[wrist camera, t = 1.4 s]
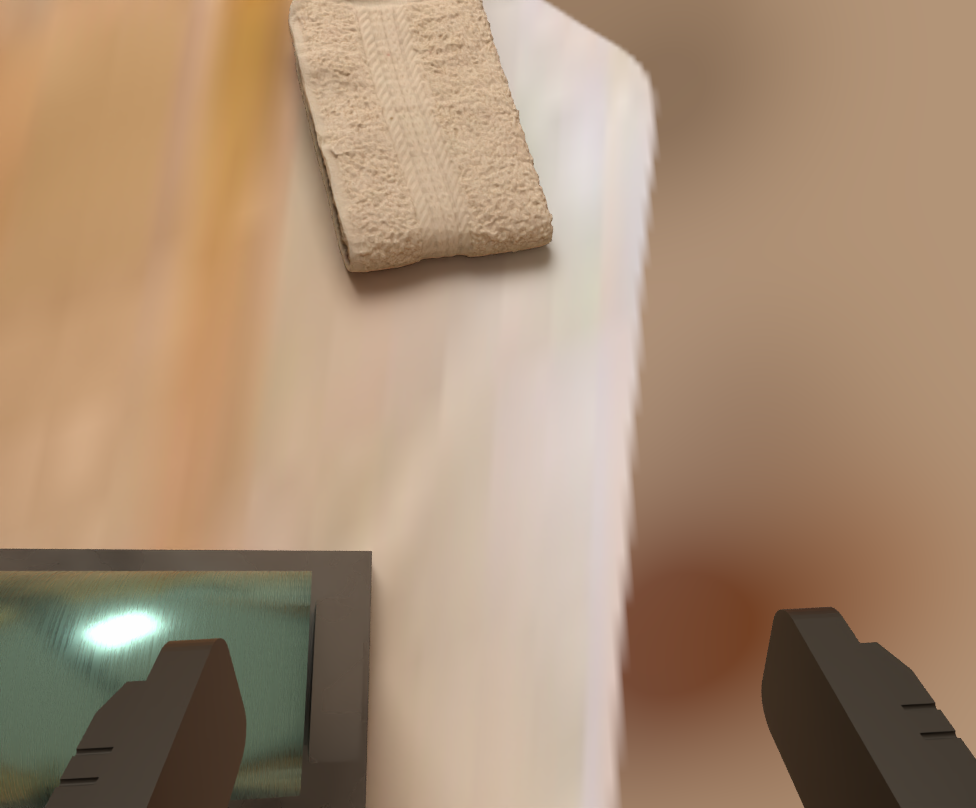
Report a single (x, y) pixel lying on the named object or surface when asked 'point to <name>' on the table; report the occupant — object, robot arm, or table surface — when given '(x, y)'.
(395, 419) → the table surface
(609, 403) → the table surface
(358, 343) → the table surface
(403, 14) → the washcloth
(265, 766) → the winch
